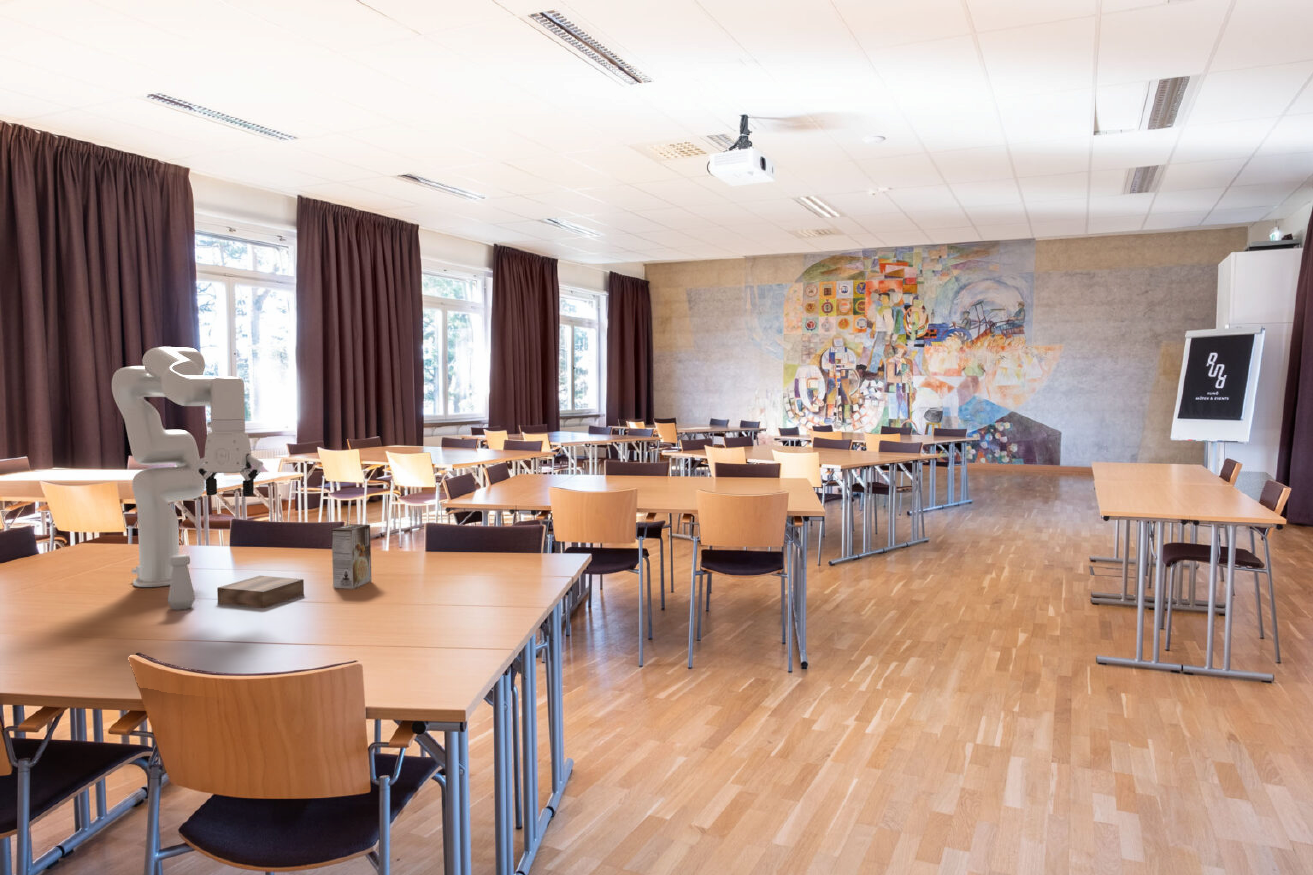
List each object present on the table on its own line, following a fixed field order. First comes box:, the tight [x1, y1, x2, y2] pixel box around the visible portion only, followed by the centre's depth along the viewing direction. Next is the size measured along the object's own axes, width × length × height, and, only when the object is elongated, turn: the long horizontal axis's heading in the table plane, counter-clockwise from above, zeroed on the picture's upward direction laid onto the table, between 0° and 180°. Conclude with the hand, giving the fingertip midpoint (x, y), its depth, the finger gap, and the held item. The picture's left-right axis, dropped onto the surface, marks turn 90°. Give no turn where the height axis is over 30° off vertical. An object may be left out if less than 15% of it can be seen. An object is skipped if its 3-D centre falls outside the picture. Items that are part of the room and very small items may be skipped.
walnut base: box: [216, 575, 305, 609], centre depth 211 cm, size 14×14×4 cm
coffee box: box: [331, 523, 373, 590], centre depth 226 cm, size 9×6×16 cm
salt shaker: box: [167, 553, 196, 611], centre depth 202 cm, size 6×6×13 cm
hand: (229, 495), depth 206 cm, fingers open, 9 cm apart
